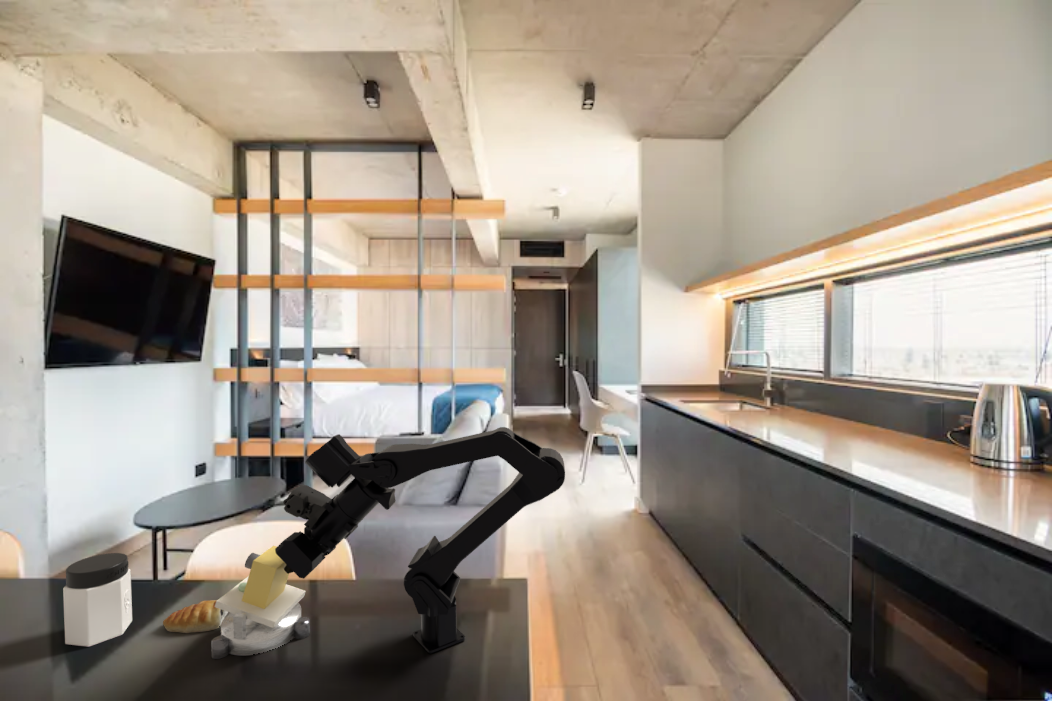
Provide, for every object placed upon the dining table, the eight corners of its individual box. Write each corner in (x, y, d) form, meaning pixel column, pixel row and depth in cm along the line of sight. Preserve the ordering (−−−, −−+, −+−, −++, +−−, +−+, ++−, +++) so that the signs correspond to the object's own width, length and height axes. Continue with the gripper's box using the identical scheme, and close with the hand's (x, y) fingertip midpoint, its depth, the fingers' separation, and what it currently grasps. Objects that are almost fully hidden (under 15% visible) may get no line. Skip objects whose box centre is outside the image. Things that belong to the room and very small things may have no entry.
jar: (119, 642, 87) (116, 569, 86) (57, 652, 84) (54, 578, 83) (138, 614, 95) (135, 548, 95) (82, 623, 92) (79, 555, 92)
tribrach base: (327, 612, 95) (327, 576, 95) (286, 661, 81) (285, 619, 81) (252, 610, 96) (251, 575, 96) (199, 658, 82) (198, 617, 82)
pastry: (157, 640, 87) (156, 617, 87) (171, 619, 94) (171, 598, 94) (221, 631, 90) (220, 608, 90) (231, 611, 96) (230, 590, 96)
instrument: (304, 598, 93) (317, 553, 93) (271, 631, 83) (286, 581, 82) (251, 579, 94) (264, 534, 94) (212, 610, 83) (227, 560, 83)
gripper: (340, 457, 96) (282, 516, 97) (287, 488, 78) (216, 560, 79) (383, 501, 96) (324, 560, 97) (340, 542, 77) (268, 614, 79)
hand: (286, 570), depth 88 cm, fingers closed
